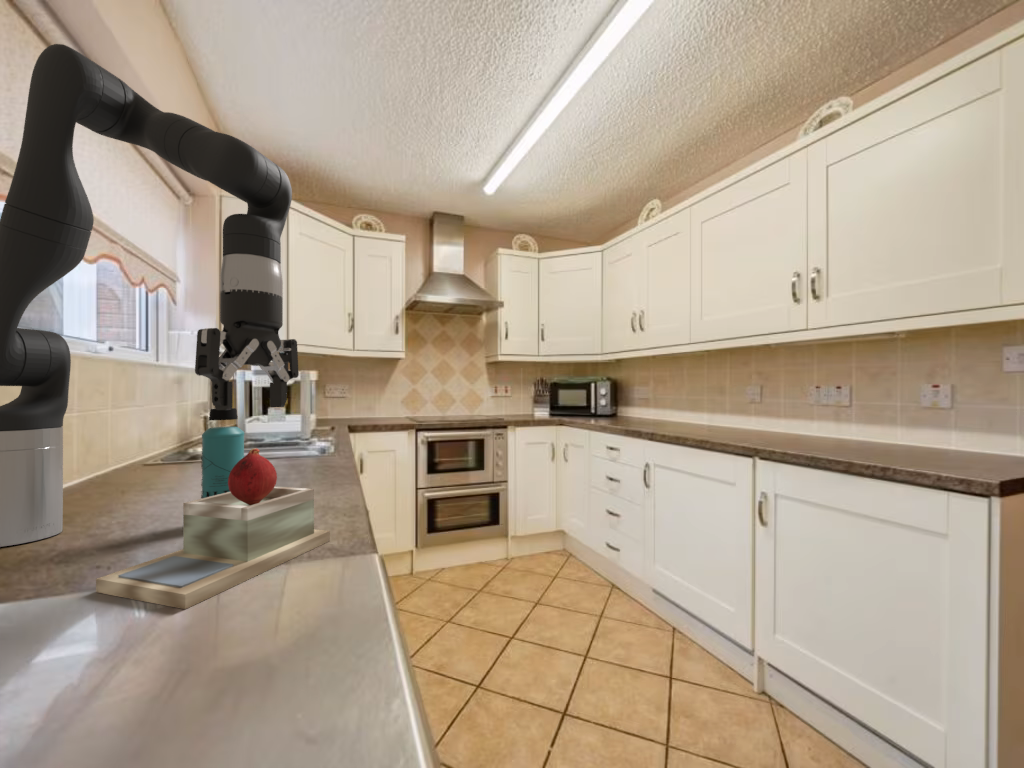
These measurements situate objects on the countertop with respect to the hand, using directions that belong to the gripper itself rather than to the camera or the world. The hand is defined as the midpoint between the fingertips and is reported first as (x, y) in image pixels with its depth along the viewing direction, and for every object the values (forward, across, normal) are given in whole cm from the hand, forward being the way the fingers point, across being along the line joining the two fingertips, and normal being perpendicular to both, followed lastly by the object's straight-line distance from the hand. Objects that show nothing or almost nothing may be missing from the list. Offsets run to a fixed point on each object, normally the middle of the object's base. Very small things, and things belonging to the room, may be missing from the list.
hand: (252, 408), depth 60 cm
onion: (+14, 0, 0) cm, 14 cm away
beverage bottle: (+20, -10, -18) cm, 29 cm away
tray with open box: (+20, +4, 0) cm, 20 cm away
